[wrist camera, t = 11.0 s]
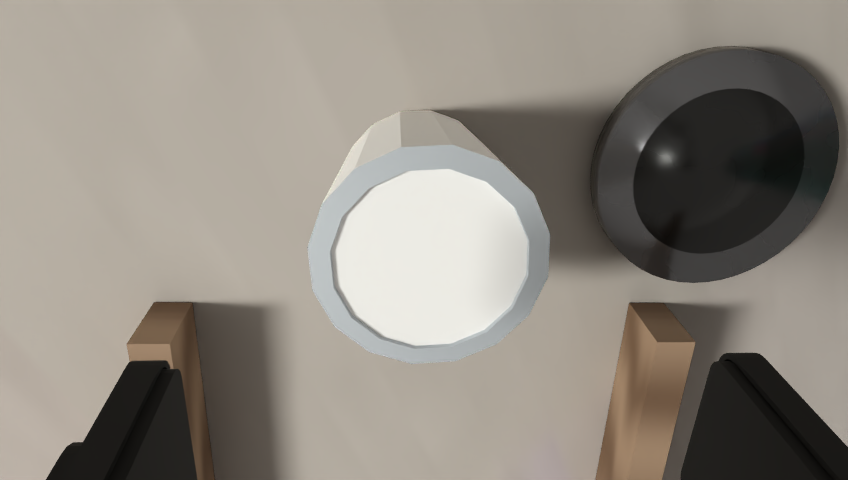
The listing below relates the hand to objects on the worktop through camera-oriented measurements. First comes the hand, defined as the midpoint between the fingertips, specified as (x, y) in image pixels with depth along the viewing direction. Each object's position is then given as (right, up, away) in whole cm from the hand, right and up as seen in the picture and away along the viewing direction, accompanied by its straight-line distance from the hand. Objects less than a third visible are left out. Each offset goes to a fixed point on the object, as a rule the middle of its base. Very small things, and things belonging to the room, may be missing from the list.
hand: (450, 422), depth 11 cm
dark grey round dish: (+10, +6, +13) cm, 18 cm away
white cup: (-1, +5, +13) cm, 14 cm away
